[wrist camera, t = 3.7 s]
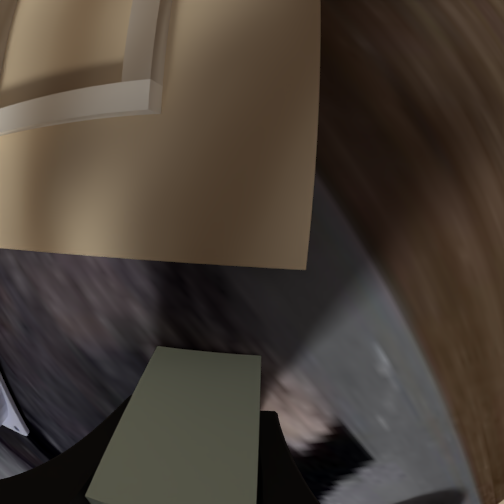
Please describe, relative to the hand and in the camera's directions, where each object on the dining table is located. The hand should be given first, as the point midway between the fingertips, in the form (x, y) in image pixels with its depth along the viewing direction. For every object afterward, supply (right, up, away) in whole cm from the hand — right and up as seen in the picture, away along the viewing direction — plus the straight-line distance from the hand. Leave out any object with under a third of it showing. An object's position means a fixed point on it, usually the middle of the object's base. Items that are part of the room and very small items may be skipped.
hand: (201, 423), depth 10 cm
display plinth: (-4, +14, -2) cm, 15 cm away
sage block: (0, +1, +2) cm, 2 cm away
